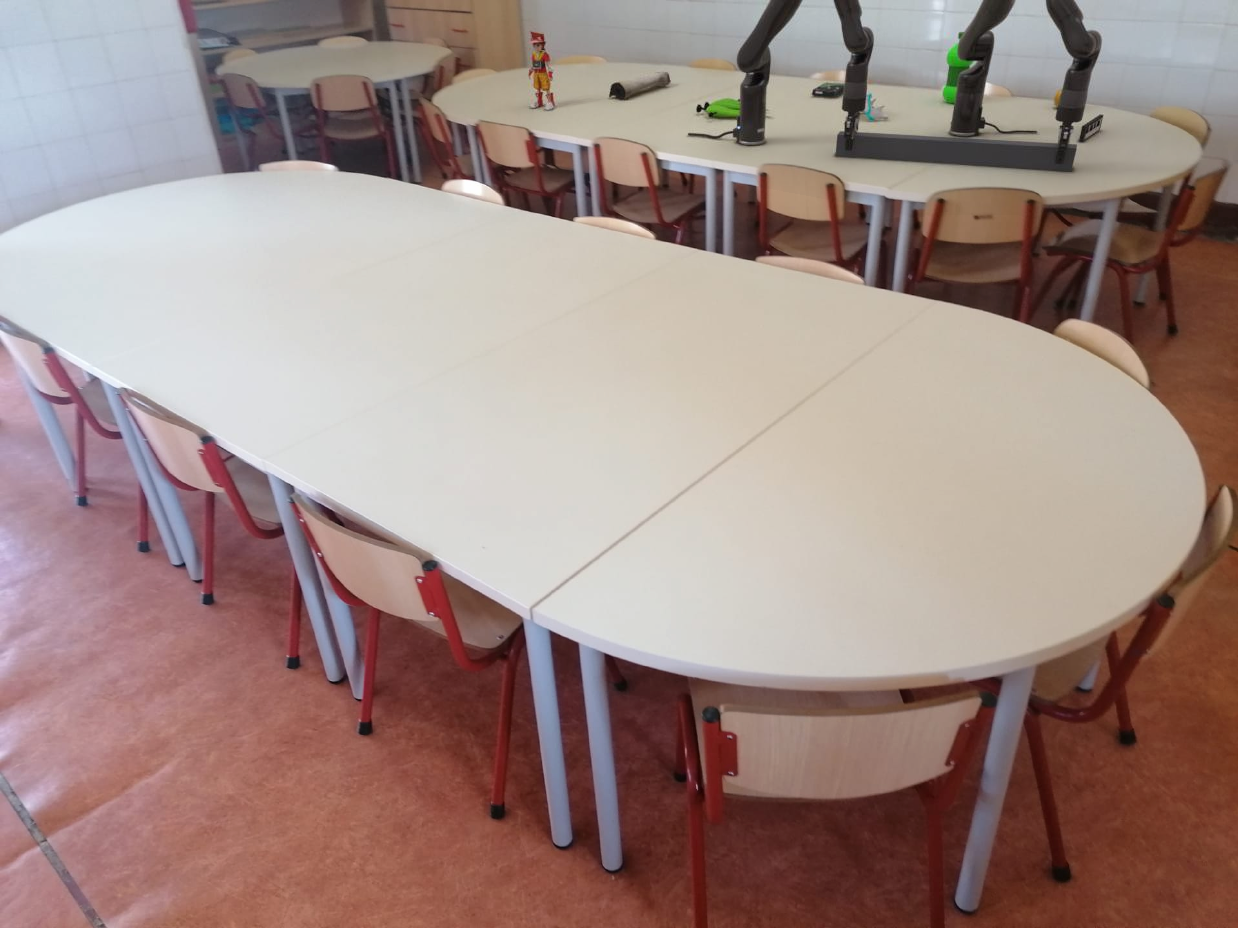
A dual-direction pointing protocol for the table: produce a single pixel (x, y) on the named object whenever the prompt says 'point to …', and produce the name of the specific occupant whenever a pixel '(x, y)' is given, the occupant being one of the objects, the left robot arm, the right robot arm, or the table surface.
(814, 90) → the disk drive
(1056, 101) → the fruit
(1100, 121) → the midi keyboard
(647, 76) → the rolled mat
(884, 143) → the post
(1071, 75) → the right robot arm
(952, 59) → the plastic bottle
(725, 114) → the toy
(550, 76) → the toy
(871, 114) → the anatomical model
